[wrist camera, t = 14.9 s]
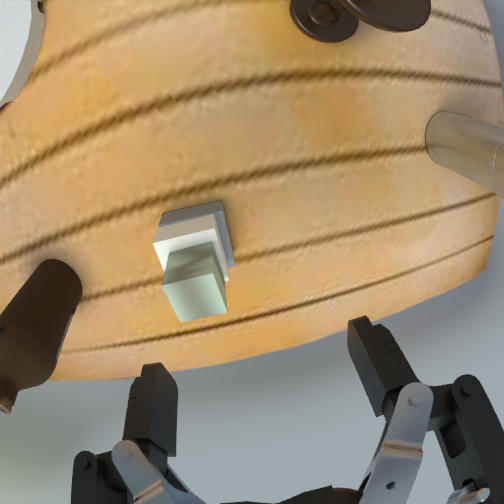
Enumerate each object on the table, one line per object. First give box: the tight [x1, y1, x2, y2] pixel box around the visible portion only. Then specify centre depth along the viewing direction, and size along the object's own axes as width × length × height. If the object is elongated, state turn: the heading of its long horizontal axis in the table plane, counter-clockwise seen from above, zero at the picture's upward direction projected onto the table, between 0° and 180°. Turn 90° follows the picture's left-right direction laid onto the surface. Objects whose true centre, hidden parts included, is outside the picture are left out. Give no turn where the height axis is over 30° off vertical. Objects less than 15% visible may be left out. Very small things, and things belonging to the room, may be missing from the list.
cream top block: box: [153, 214, 229, 281], centre depth 33 cm, size 7×7×4 cm
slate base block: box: [159, 200, 235, 268], centre depth 36 cm, size 8×8×4 cm
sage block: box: [162, 241, 227, 322], centre depth 29 cm, size 5×5×6 cm
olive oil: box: [0, 260, 82, 414], centre depth 28 cm, size 11×11×25 cm
